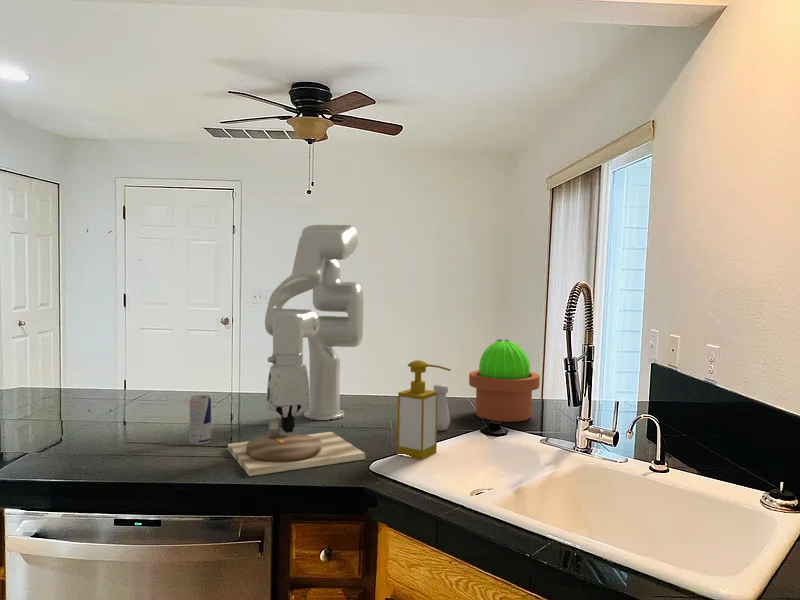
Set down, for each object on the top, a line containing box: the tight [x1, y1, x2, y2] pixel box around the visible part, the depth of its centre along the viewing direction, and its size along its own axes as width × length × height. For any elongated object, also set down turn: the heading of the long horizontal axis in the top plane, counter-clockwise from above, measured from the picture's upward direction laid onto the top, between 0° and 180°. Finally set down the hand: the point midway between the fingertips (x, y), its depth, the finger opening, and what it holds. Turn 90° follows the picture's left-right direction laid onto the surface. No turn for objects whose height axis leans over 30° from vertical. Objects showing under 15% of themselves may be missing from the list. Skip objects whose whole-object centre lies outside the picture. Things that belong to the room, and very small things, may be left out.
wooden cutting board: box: [227, 431, 366, 477], centre depth 148 cm, size 22×28×2 cm
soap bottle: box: [396, 360, 452, 461], centre depth 148 cm, size 7×13×24 cm, turn 58°
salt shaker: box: [432, 383, 451, 431], centre depth 174 cm, size 6×6×13 cm
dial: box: [246, 417, 322, 461], centre depth 145 cm, size 18×18×6 cm
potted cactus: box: [468, 339, 541, 423], centre depth 191 cm, size 22×22×25 cm
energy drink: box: [189, 394, 212, 446], centre depth 157 cm, size 5×5×12 cm
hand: (287, 431), depth 153 cm, fingers closed
